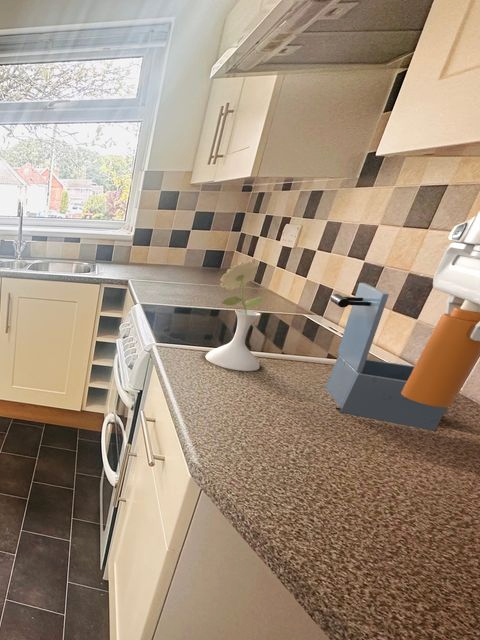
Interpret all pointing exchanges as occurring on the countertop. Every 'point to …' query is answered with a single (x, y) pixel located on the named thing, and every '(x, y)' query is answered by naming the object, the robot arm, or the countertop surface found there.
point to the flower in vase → (236, 351)
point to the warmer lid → (360, 323)
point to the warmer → (380, 394)
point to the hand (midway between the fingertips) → (462, 333)
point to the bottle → (445, 359)
